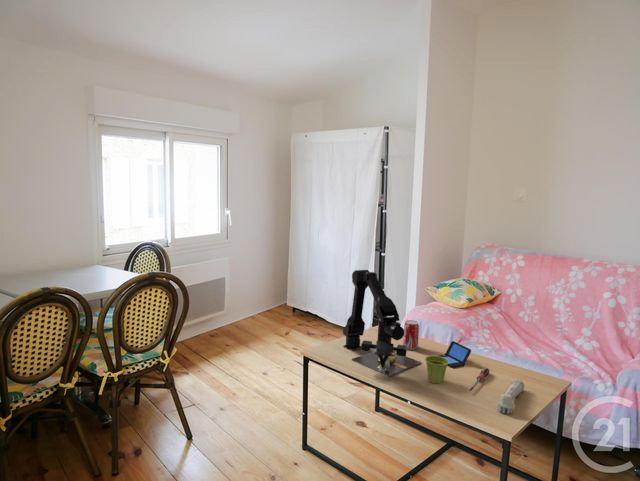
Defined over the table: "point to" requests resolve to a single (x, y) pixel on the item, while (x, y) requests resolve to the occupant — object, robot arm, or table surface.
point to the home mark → (399, 365)
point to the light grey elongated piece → (510, 397)
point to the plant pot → (436, 368)
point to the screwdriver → (481, 377)
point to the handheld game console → (456, 355)
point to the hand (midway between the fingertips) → (382, 367)
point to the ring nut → (389, 361)
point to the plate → (373, 363)
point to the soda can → (411, 334)
